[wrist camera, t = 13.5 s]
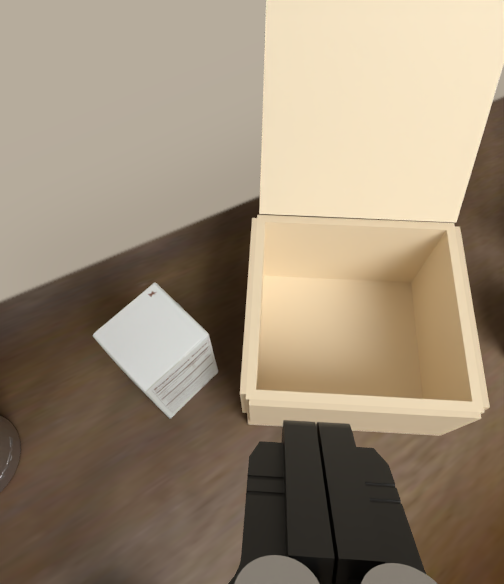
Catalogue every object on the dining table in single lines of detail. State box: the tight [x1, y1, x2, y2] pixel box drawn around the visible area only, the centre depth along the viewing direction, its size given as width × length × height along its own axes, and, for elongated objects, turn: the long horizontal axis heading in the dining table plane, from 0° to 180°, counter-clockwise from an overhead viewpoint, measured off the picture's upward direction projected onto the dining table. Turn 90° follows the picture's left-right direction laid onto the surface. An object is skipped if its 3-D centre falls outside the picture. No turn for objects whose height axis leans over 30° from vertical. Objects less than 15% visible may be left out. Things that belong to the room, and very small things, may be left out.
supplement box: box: [93, 282, 218, 418], centre depth 45 cm, size 7×7×13 cm
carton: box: [240, 215, 490, 436], centre depth 46 cm, size 20×18×12 cm
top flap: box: [259, 0, 504, 222], centre depth 39 cm, size 19×18×1 cm
